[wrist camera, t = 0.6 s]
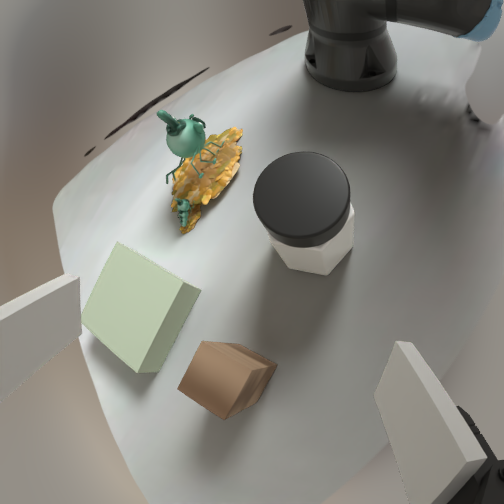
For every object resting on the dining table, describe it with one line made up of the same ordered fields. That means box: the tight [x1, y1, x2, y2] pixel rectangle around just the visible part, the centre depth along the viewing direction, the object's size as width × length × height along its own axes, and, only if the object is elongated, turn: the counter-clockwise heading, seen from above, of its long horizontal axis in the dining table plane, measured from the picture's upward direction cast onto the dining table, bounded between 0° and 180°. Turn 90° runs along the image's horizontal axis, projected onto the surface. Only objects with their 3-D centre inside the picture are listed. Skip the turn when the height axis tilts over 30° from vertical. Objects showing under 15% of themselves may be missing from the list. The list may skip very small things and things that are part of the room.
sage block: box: [81, 242, 201, 373], centre depth 38 cm, size 12×12×5 cm
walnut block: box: [177, 341, 277, 420], centre depth 29 cm, size 5×5×10 cm
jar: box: [253, 152, 355, 275], centre depth 31 cm, size 9×8×12 cm
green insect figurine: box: [157, 110, 243, 234], centre depth 38 cm, size 10×18×15 cm, turn 148°
